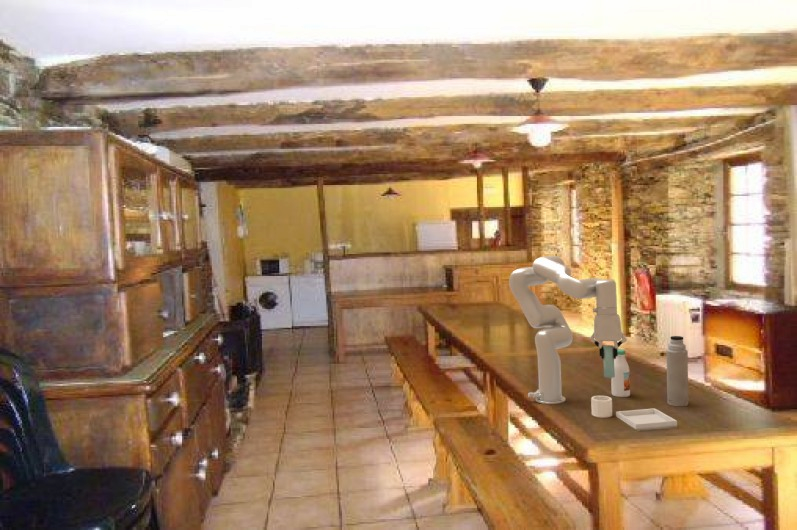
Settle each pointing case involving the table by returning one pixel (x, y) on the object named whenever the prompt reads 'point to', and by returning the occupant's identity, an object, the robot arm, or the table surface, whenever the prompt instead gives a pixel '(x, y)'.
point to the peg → (608, 361)
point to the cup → (601, 406)
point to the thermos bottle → (677, 372)
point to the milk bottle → (621, 376)
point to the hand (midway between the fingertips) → (608, 357)
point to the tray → (647, 419)
